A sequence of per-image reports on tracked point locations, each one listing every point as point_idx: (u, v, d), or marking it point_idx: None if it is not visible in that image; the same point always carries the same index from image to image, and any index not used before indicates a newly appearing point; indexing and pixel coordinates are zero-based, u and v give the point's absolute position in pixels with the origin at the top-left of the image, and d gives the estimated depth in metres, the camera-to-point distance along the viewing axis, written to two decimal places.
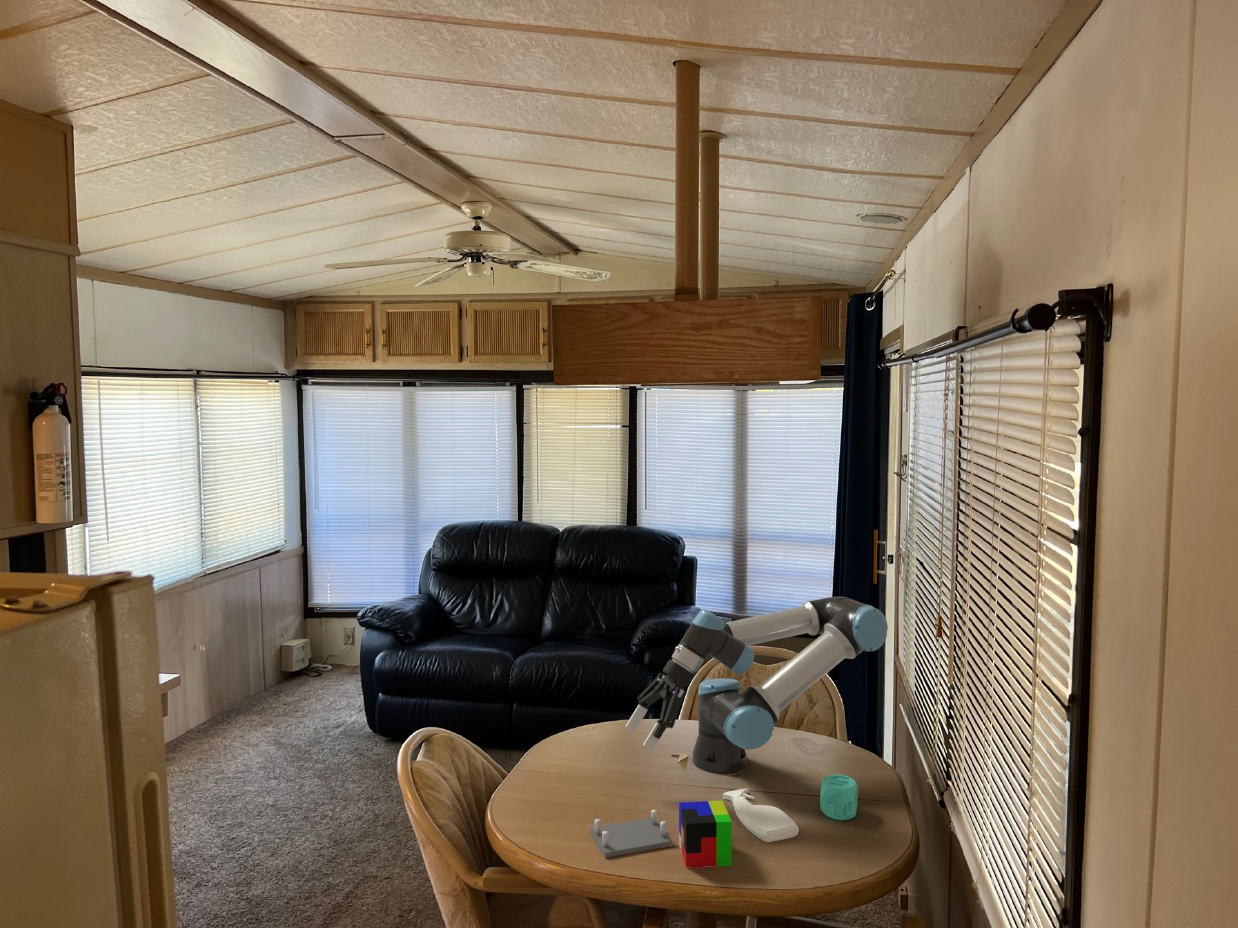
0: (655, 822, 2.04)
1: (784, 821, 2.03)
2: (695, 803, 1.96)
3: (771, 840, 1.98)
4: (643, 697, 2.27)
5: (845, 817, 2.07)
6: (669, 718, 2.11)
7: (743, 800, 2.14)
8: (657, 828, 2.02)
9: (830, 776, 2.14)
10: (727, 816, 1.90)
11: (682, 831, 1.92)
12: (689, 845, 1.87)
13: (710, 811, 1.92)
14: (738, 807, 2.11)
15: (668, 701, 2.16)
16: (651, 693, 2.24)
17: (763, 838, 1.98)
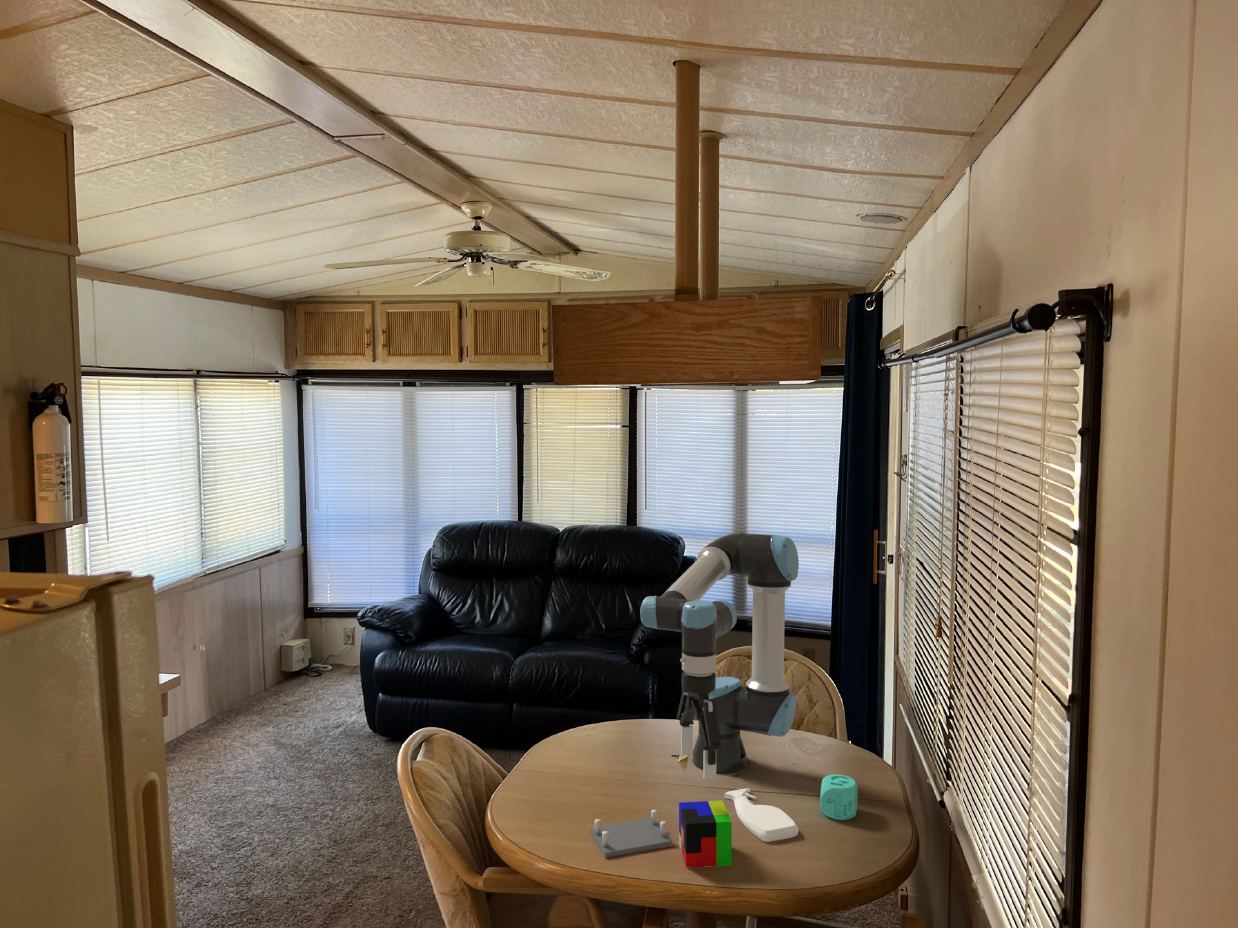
0: (655, 822, 2.04)
1: (784, 821, 2.03)
2: (695, 803, 1.96)
3: (770, 840, 1.98)
4: (681, 717, 1.99)
5: (845, 817, 2.07)
6: (712, 741, 1.83)
7: (744, 800, 2.15)
8: (657, 828, 2.02)
9: (830, 776, 2.14)
10: (727, 816, 1.90)
11: (682, 831, 1.92)
12: (689, 845, 1.87)
13: (710, 811, 1.92)
14: (739, 806, 2.11)
15: (704, 719, 1.88)
16: (685, 711, 1.96)
17: (762, 838, 1.98)
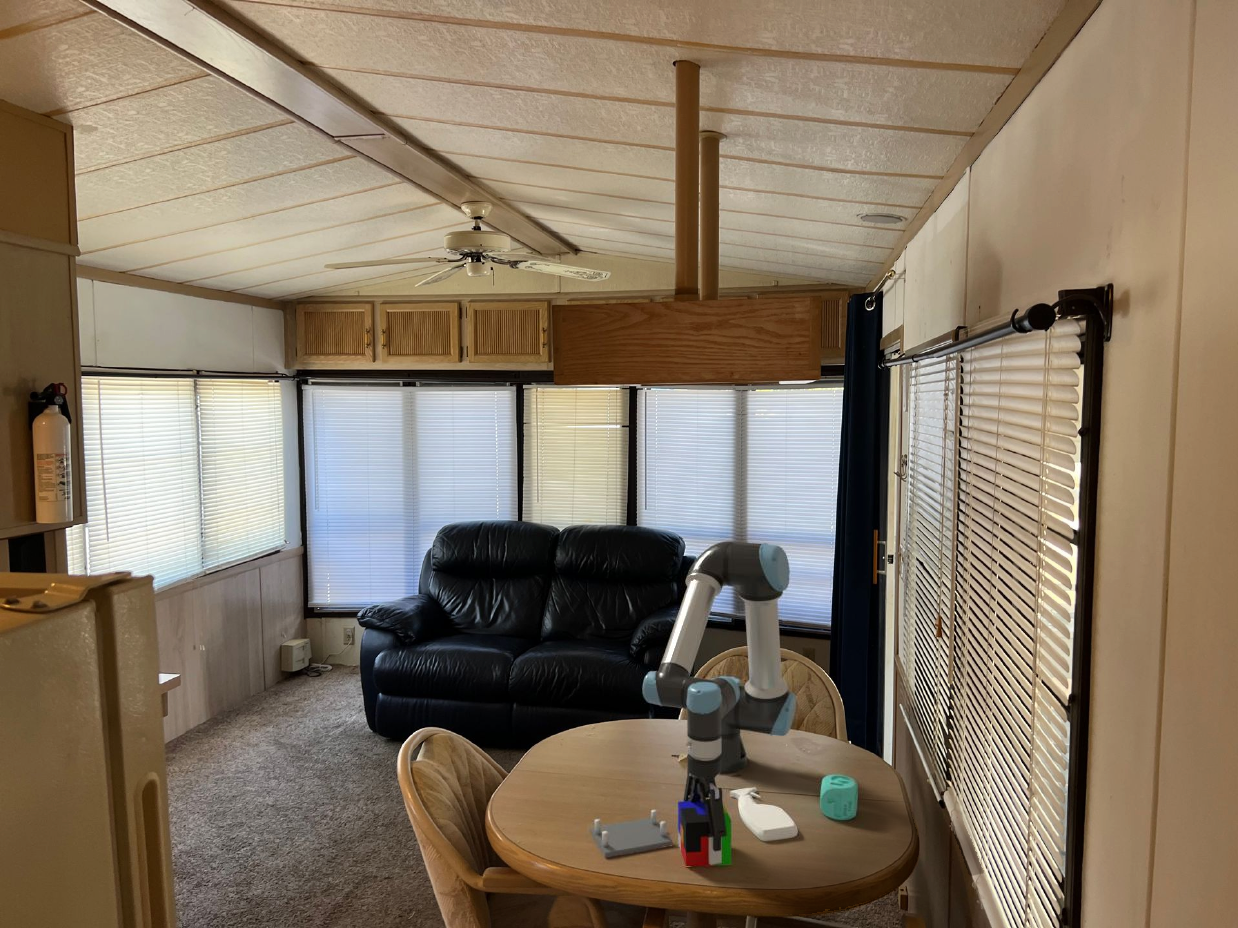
0: (655, 822, 2.04)
1: (783, 821, 2.03)
2: (694, 802, 1.96)
3: (768, 839, 1.98)
4: (688, 800, 1.98)
5: (845, 817, 2.07)
6: (718, 829, 1.84)
7: (748, 799, 2.15)
8: (657, 828, 2.02)
9: (830, 776, 2.14)
10: (726, 815, 1.90)
11: (681, 830, 1.92)
12: (688, 844, 1.87)
13: None
14: (741, 805, 2.12)
15: (709, 804, 1.88)
16: (692, 794, 1.96)
17: (760, 837, 1.99)
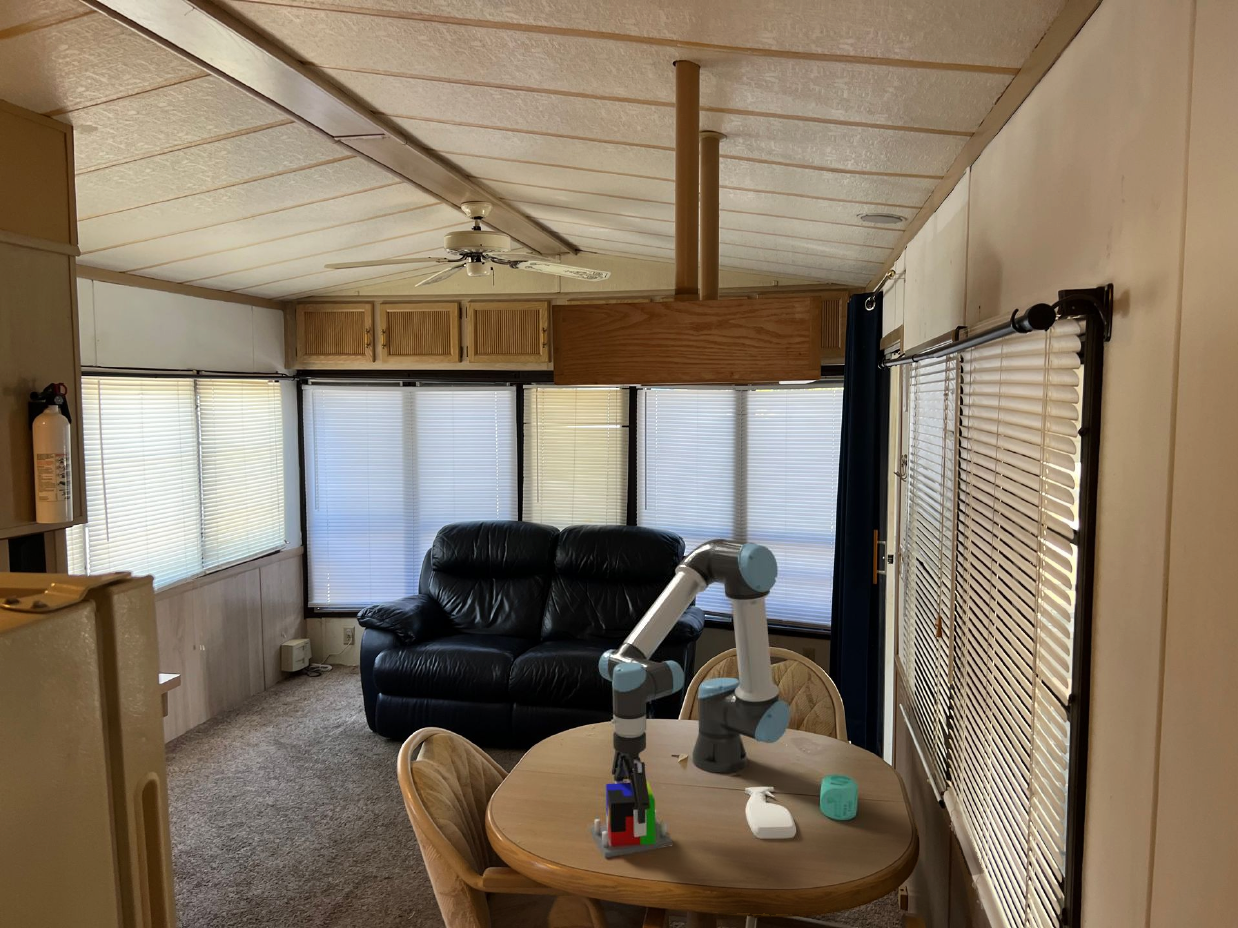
0: (655, 822, 2.04)
1: (783, 821, 2.03)
2: (621, 784, 2.03)
3: (762, 837, 1.99)
4: (615, 773, 2.05)
5: (845, 817, 2.07)
6: (641, 801, 1.90)
7: (759, 796, 2.16)
8: (657, 828, 2.02)
9: (830, 776, 2.14)
10: (651, 796, 1.97)
11: (608, 811, 1.99)
12: (614, 824, 1.94)
13: None
14: (749, 802, 2.14)
15: (634, 778, 1.94)
16: (619, 768, 2.03)
17: (755, 833, 2.00)
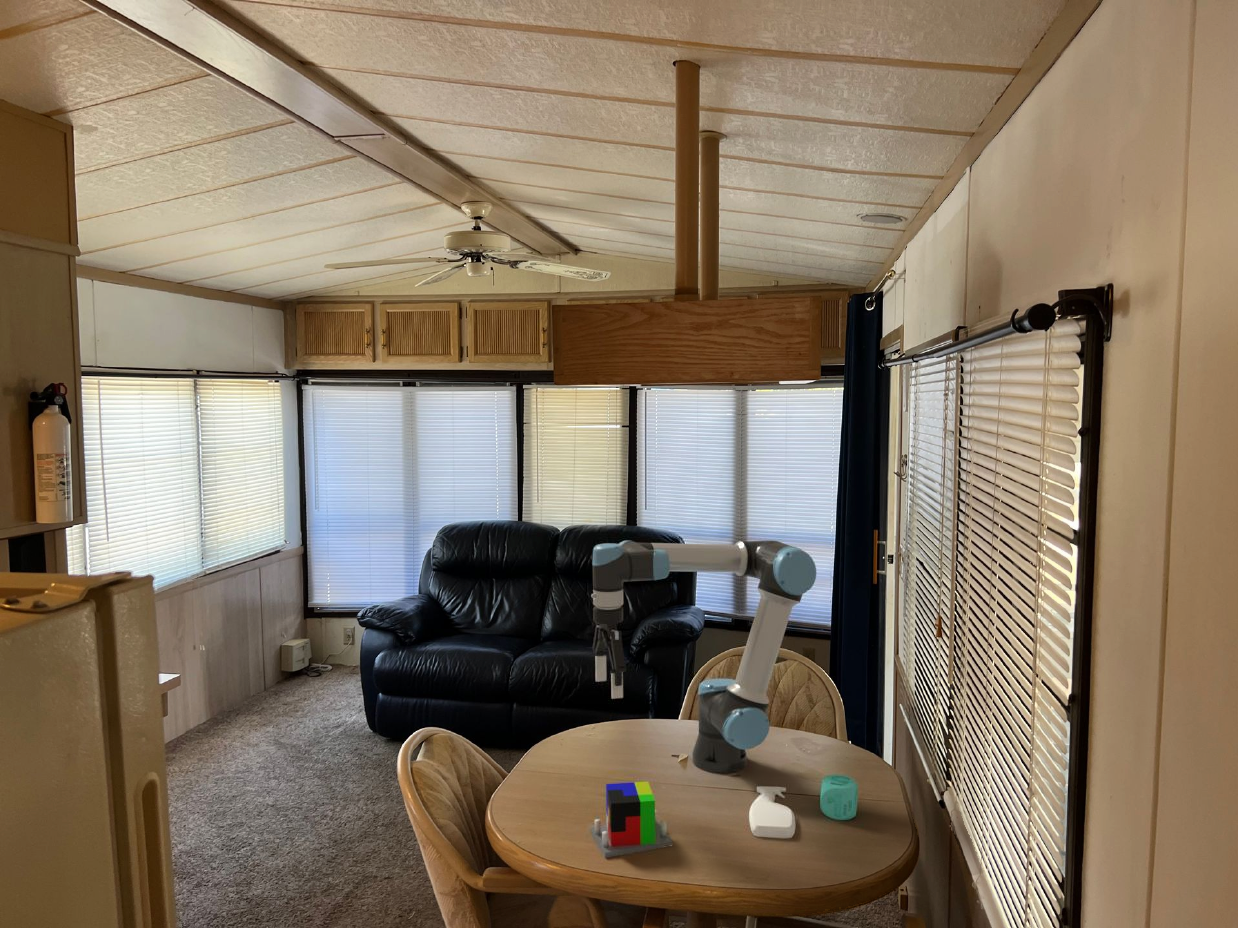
0: (655, 822, 2.04)
1: (782, 821, 2.03)
2: (621, 784, 2.03)
3: (759, 835, 2.00)
4: (595, 648, 2.23)
5: (845, 817, 2.07)
6: (618, 664, 2.08)
7: (767, 796, 2.17)
8: (657, 828, 2.02)
9: (830, 776, 2.14)
10: (651, 796, 1.97)
11: (608, 811, 1.99)
12: (614, 824, 1.94)
13: (635, 791, 1.99)
14: (756, 800, 2.15)
15: (612, 646, 2.12)
16: (598, 642, 2.21)
17: (752, 831, 2.01)
